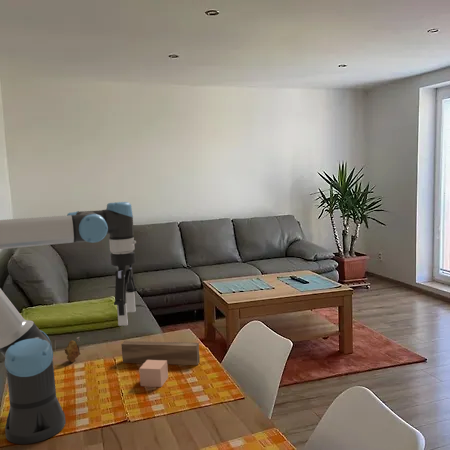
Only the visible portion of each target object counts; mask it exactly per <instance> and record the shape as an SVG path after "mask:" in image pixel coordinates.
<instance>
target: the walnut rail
mask: <svg viewBox="0 0 450 450" xmlns="http://www.w3.org/2000/svg"><path fill="white" fill-rule="evenodd" d="M199 343H200V342H188V341H187V342H185V341H183V342H180V341H179V342H178V341H145V340H144V341H139V340H137V341H136V340H134V341H132V340H131V341H130V340H129V341H128V340H124V341H123V342H122V343H121V359H122V363H124V364H129V363H130V364H144V363H145V362H146V360H167V365H182V366H183V365H186V366H190V365H191V366H198V365H199V364H200V345H199Z"/></svg>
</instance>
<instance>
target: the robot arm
mask: <svg viewBox="0 0 450 450" xmlns="http://www.w3.org/2000/svg"><path fill="white" fill-rule="evenodd" d="M134 232H135V231H134V216H133V208H132V204H131V202H128V201H117V202H114V201H113V202H108V203H107V205H106V209H105V208H104V209H101V210H99V209H98V210H84V211H83V210H82V211H79V210H78V211H73V212H68V213H67V215H58V216H56V215H54V216H43V217H42V216H41V217H40V216H39V217H27V218H25V217H24V218H12V219H11V218H10V219H0V250H5V249H6V250H7V249H15V248H16V249H17V248H27V247H37V246H48V245H59V244H71V243H73V244H74V243H85V242H86V243H91V244H92V243H99V242H101V241H102V240H103V239H105V237H106V236H107V235H108V236H109V237H108V239H109V241H108V242H109V251H110V264H111V266H113V267H117V270H116V271H115V272H114V275H115V289H114V291H115V293H114V302H113V305H114V306H116V310H117V311H116V312H117V325H118V326H119V327H120V326H128V325H129V321H128V313H136V312H137V311H136V310H137V309H136V296H135V295H136V293H135V292H137V290H138V289H137V288H136V283H135V277H134V271H133V265H135V264H136V262H137V260H136V252H135V249H136V248H135V244H137V240H134V239H135V236H134V235H135V233H134ZM0 353H1V355H3V357H4V367H5V370H6V380H7V381H6V382H7V389H8V400H9V409H8V415H7V418H6V423H5V427H4V429H5V430H4V432H5V437H6V438H5V439H6V440H7V441H8V442H10V443H12V444H16V445H29V444H35V443H39V442H42V441H45V440H48V439H50V438H52V437H53V436H56V435H58V434H59V433H60V432H61V431H63V429H64V427H65V425H66V414H65V412H64V410H63V408H62V406H61V403H60V401H59V400H58V397H57V391H56V389H57V388H56V381H55V380H56V379H55V368H54V359H53V358H54V351H53V347H52V341H51V340H50V337H49V336H48V335H47V333H45V332H44V331H43V330H41V329H39V327H38V326H37V325H36V323H35V322H34V321H33V320H30V319H28V320H27V319H25V318H24V317H23V316H22V314H21V313H20V312H19V311H18V309H17V308H16V307H15V305H14V304H13V303H12V302H11V300H10V299H9V298H8V296H7V295H6V294H5V292H4V291H3V290H2V288H1V287H0Z"/></svg>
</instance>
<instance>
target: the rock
mask: <svg viewBox="0 0 450 450" xmlns="http://www.w3.org/2000/svg"><path fill="white" fill-rule="evenodd" d="M75 339H76V341H75V340H73V339H71V340H70V341H69V342H68V344H67V346H66V348H64V354H65V355H67V356H66V359H67V361H69V362H71V363H74V362H75V361H76V359H77V358H78V357H79V356H80V355H81V352H80V346H79V344H78V343H80V342H82V340H81V337H80V336H78V337H76V338H75ZM77 342H78V343H77Z"/></svg>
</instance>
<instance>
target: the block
mask: <svg viewBox="0 0 450 450" xmlns="http://www.w3.org/2000/svg"><path fill="white" fill-rule="evenodd" d="M168 370H169V369H168V364H167V360H146V362H145V363H142V365H140V367H139V370H138V371H139V384H140V387H153V388H161V387H163V386H164V384H165V383H166V381H167V380H168V379H169V371H168Z"/></svg>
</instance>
